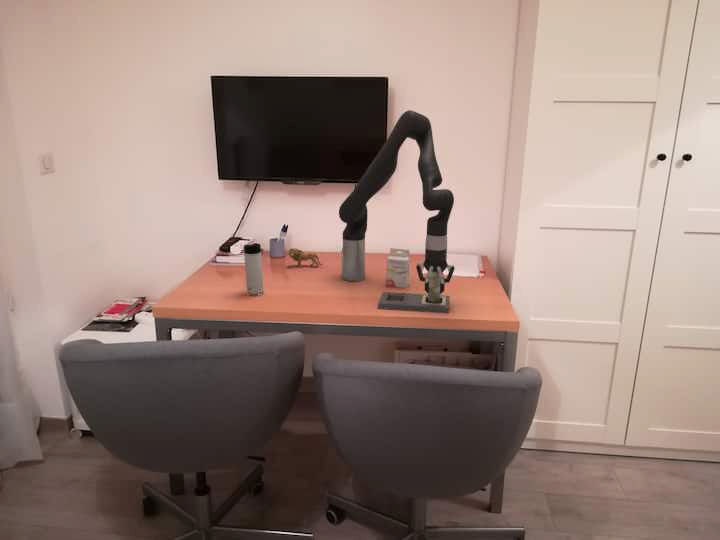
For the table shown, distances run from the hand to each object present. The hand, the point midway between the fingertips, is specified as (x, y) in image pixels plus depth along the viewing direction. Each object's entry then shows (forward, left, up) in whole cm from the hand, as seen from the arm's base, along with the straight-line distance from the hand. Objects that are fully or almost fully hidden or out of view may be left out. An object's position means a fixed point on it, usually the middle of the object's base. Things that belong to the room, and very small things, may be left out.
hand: (434, 292), depth 191 cm
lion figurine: (-59, +37, -5) cm, 70 cm away
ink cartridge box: (-15, +20, -5) cm, 26 cm away
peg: (0, 0, -4) cm, 4 cm away
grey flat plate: (-7, 0, -5) cm, 9 cm away
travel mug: (-68, +1, -5) cm, 69 cm away
